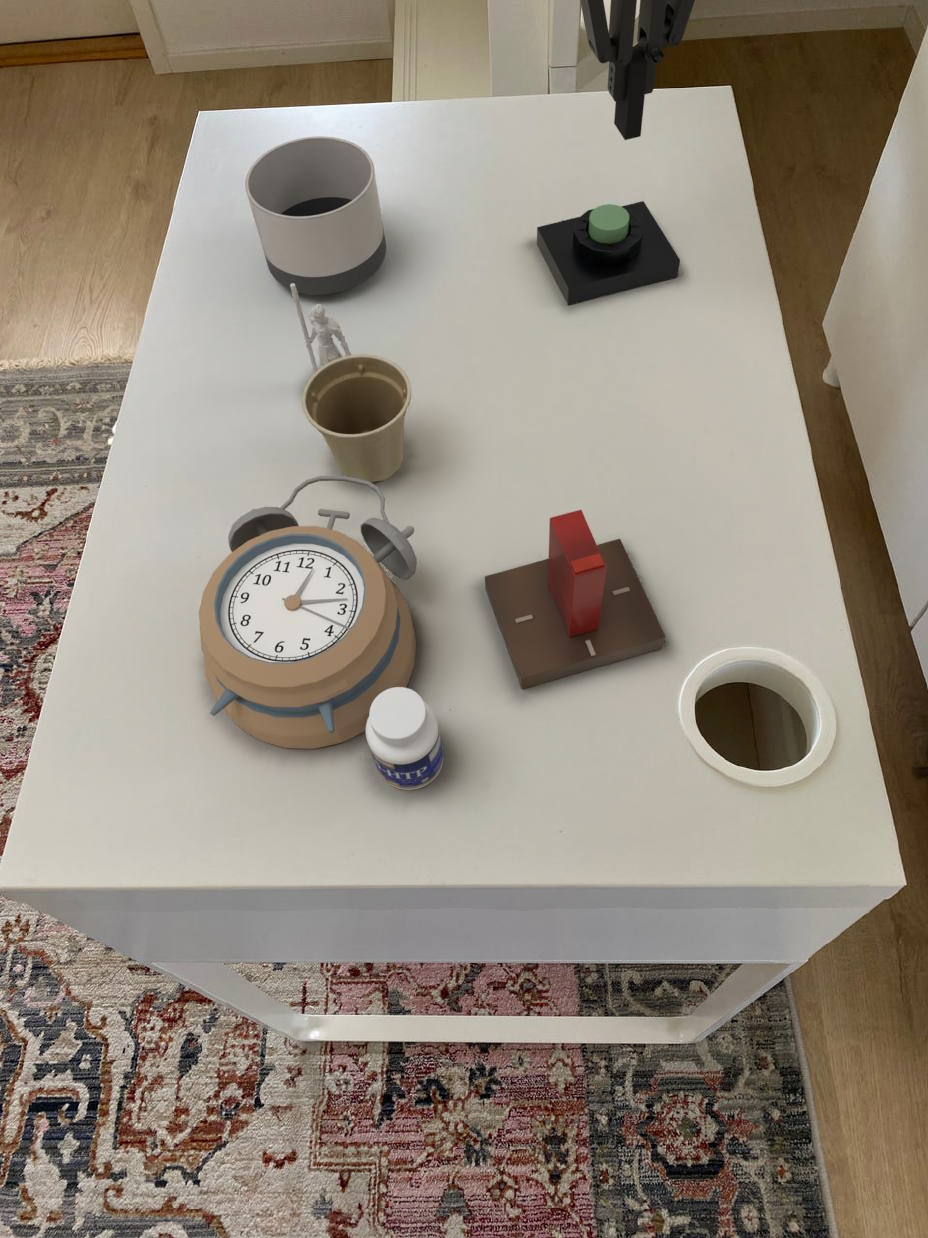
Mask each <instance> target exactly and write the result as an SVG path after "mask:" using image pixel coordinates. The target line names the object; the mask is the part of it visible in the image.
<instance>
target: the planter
mask: <svg viewBox="0 0 928 1238" xmlns="http://www.w3.org/2000/svg"><path fill="white" fill-rule="evenodd" d="M376 177H377V176H376V171H375V166H374V162H373V160H372V158H371V156H370V155H369V153H368V152H367V151H366V150H365V149H363V148H362V147H361V146H359V145H358V144H356V143H354V142H353V141H349V140H346V139H343V138H339V137H334V136H322V135H321V136H320V135H319V136H306V137H301V138H296V139H292V140H289V141H286V142H283V143H281V144H278V145H276V146H275V147H273V148H270V149H269V150H267V151H266V152H264V153H263V154H262V155H261V156H259V157H258V158H257V159H256V160H255V161H254V163H253V164H252V165H251V166H250V168H249V170H248V172H247V174H246V177H245V183H244V184H245V185H244V187H245V192H246V196H247V200H248V202H249V206H250V209H251V212H252V217H253V219H254V224H255V226H256V231H257V234H258V237H259V241H260V244H261V248H262V251H263V254H264V257H265V260H266V264H267V268H268V270H269V272H270V274H271V276H272V277H273V278H274V280H275V281H277V282H278V283H279V284H280V285H282V286H283V287H285V288H286V289H289V290H291V288H290V284H292V283H294V284H295V286H296V289H297V292H298V293H301V294H305V295H315V296H316V295H318V296H319V295H320V296H321V295H323V296H324V295H331V294H332V295H333V294H338V293H341V292H344V291H348V290H350V289H353V288H355V287H357V286H359V285H361V284H363V283H364V282H366V281H367V280H369V279H370V278H371V277H372V276H373V275H374V274H376V272H377V271H378V270H379V269H380V267H382V264H383V262H384V261H385V259H386V258H385V257H386V255H387V254H386V253H387V241H386V235H385V229H384V222H383V216H382V211H381V210H382V209H381V204H380V196H379V190H378V184H377V178H376Z"/></svg>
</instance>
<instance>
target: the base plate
mask: <svg viewBox="0 0 928 1238" xmlns="http://www.w3.org/2000/svg"><path fill="white" fill-rule="evenodd" d="M597 547H598V549H599V551H600V554H601V556H602V558H603V561H604V563H605V565H606V567H607V568H606V576H605V584H604V592H603V599H602V607H601V615H600V623H599V629H597V630H593V631H590V632H586V633H583V634H579V635H576V636H572V637H569V635H568V633H567V630H566V627H565V625H564V622H563V620H562V617H561V615H560V612H559V610H558V607H557V605H556V602H555V599H554V597H553V594H552V592H551V589H550V587H549V584H548V560H549V558H546V559H541V560H538V561H535V562H532V563H527V564H523V565H521V566H520V565H519V566H517V567H513V568H509V569H506V570H503V571H499V572H496V573H492V574H489V575H485V576H484V586H485V587H484V588H485V592H486V594H487V597H488V600H489V602H490V606H491V608H492V611H493V615H494V617H495V619H496V623H497V625H498V627H499V630H500V634H501V636H502V639H503V641H504V644H505V647H506V650H507V653H508V655H509V658H510V661H511V664H512V667H513V669H514V672H515V674H516V677H517V680H518V683H519V686H520V688H521V690H524V689H529V688H531V687H534V686H540V685H542V684H545V683H548V682H552V681H555V680H559V679H562V678H567V677H569V676H572V675H576V674H579V673H582V672H583V673H584V672H586V671H590V670H594V669H596V668H599V667H604V666H607V665H609V664H613V663H617V662H620V661H623V660H627V659H630V658H634V657H637V656H641V655H644V654H647V653H648V654H649V653H651V652H655V651H658V650H662V649H663V648H664V644H665V640H666V635H665V632H664V630H663V628H662V626H661V624H660V622H659V620H658V618H657V615H656V612H655V611H654V609H653V606H652V604H651V601H650V599H649V597H648V596H647V593H646V591H645V588H644V587H643V584H642V582H641V580H640V578H639V576H638V575H637V572H636V570H635V568H634V566H633V563H632V561H631V559H630V557H629V555H628V552H627V551H626V548H625V545H624V544H623V542H622V540H621V538H617V539H613V540H609V541H605V542H603V543H599V544H597Z"/></svg>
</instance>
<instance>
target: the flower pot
mask: <svg viewBox="0 0 928 1238" xmlns="http://www.w3.org/2000/svg"><path fill="white" fill-rule="evenodd" d="M411 400H412V385H411V382H410V379H409V377H408V375H407V374H406V372H405V371H404V370H403V368H401V366H399V365H398V364H396V363H395V362H394V361H392V360H389V359H387V358H385V357H382V356H378V355H374V354H366V353H365V354H363V353H362V354H361V353H360V354H352V355H350V356H345V355H344V356H343V357H341V358H338V359H336V360H333V361H331V362H329V363H327V364H326V365H324V366H322V367H321V366H320V367H319V368H318V370H317V371H316V372H315V373H314V372H313V374H312V375H311V376H310V378H309V379H308V381H307V382H306V383H305V386H304V388H303V390H302V395H301V407H302V411H303V414H304V416H305V417H306V419H307V421H308V422H309V423H310V424H311V426H313V427H314V428H315V430H317V431H318V432H319V433H320V434H321V435H322V436H323V438H324V441H325V442H326V445H327V447H328V449H329V450H330V452H331V454H332V457H333V458H334V460H335V462H336V464H337V467H338V469H339V470H340V471H341V473H342V474H343V476H347V477H352V478H358V479H362V480H365V481H369V482H371V483H373V482H378V481H379V482H380V481H385V480H387V479H389V478H391V477H392V476H393V475H394V474H396V472H397V471H398V470H399V469H400V467H401V466H402V464H403V462H404V457H405V449H404V448H405V445H404V442H405V440H404V439H405V416H406V414H407V411H408V409H409V406H410V404H411Z"/></svg>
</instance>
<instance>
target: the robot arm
mask: <svg viewBox="0 0 928 1238" xmlns="http://www.w3.org/2000/svg"><path fill="white" fill-rule="evenodd" d="M579 1H580V8H581V13H582V18H583V23H584V28H585V29H584V30H585V36H586V40H587V44H588V47H589V49H590V50H591V52H592V53H593V55H594V56H595V57H596V59H597V60H598V62H599V63H601V64H607V63H608V72H607V73H608V74H607V90H608V94H609V95H610V97H611V98H612V100H613V101H614V102H615V108H614V119H613V120H614V121H613V123H614V126H615V127H616V129H617V130H618V132H619V133H620V135H621V137H622V138H623V140H624V141H627V140H631V139H637V138H640V137H642V128H643V127H642V125H643V118H644V117H643V116H644V107H645V106H644V105H645V96H646V95H649V94H652V93H653V91H654V89H655V87H656V78H657V77H656V76H657V69H658V68H657V67H658V64H661V63H662V62H663V60H664V59H665V56H666V55H665V54H664V52H663V50H665V49H667V48H668V47H673V48H674V47H677V46H679V45H680V44H681V42H682V41H683V38H684V35H685V32H686V28H687V27H688V26H687V25H688V22H689V19H690V17H691V14H692V10H693V7H694V4H695V1H696V0H639V10H638V23H637V33H636V35H637V36H636V42H637V44H638V47H637V46H636V45H635V46H634V39H635V38H634V36H635V28H636V27H635V25H636V16H637V15H636V14H637V3H638V0H610V6H609V7H610V9H609V23H608V20H607V14H606V8H605V2H604V0H579Z"/></svg>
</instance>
